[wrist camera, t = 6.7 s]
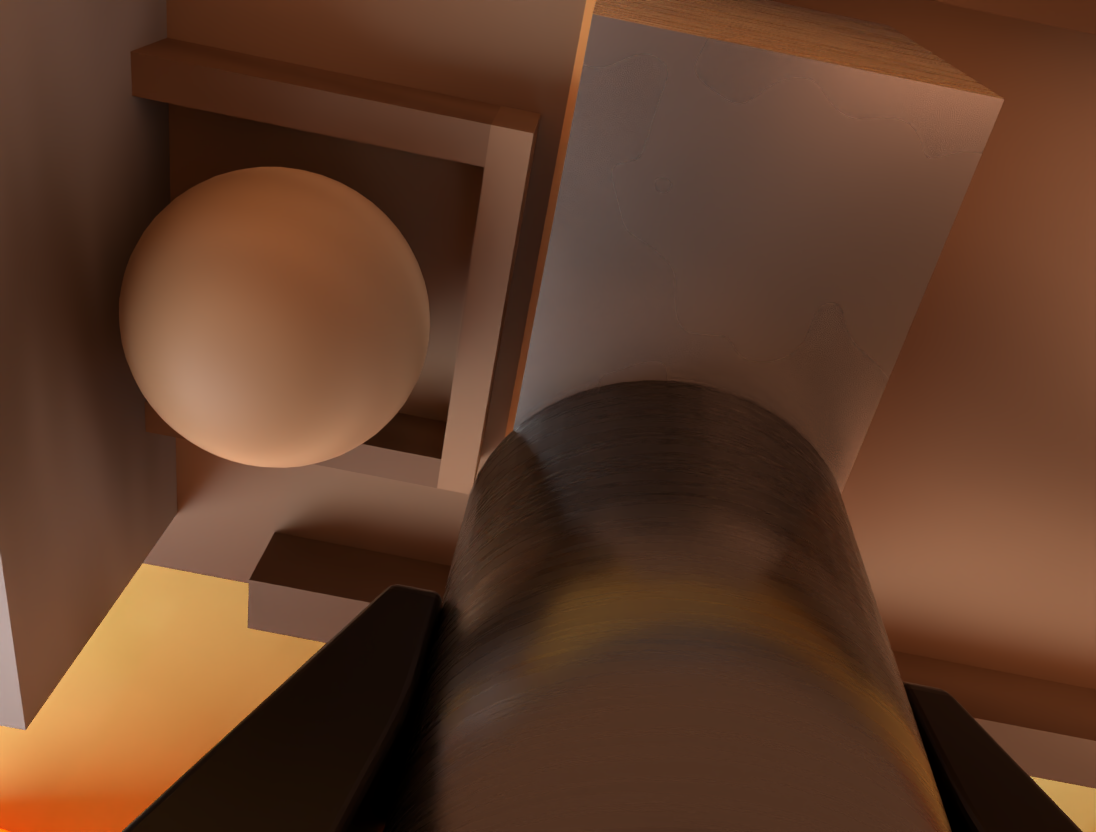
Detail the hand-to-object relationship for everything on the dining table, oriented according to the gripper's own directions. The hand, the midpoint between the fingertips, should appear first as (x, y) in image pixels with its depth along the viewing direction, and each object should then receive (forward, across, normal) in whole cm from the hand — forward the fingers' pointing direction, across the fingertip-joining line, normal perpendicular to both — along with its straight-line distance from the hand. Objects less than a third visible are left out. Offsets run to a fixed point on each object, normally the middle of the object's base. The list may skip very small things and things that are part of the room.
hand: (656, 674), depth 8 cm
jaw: (+5, 0, 0) cm, 5 cm away
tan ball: (+6, +5, 0) cm, 8 cm away
